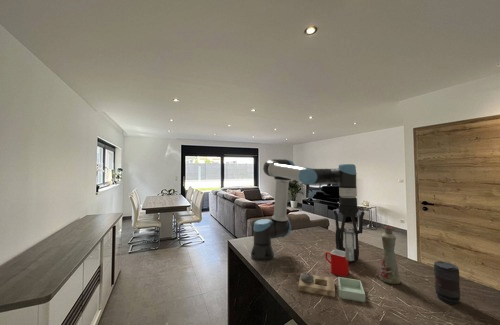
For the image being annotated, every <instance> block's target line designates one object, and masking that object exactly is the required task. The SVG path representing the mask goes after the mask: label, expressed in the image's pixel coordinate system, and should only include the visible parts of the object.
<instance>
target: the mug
mask: <svg viewBox="0 0 500 325" xmlns="http://www.w3.org/2000/svg"><path fill="white" fill-rule="evenodd" d="M328 255H330V260H329V258H328ZM325 260H326V261H327V262H328V263H329V264H330V272H331V274H333V275H336V276H338V277H342V278H346V277H347V275H348V274H349V273H350V267H349V263H350V261H348V260H346V259H345V251H341V250H337V249H333V250H332V251H330V252H328V251H327V252H325Z"/></svg>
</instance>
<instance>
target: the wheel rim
mask: <svg viewBox="0 0 500 325" xmlns="http://www.w3.org/2000/svg"><path fill="white" fill-rule="evenodd" d="M349 228H353V229H354V227H351V226H350V227H349ZM339 229H341V227H339ZM354 233H355V232H354ZM359 245H360V243H359V240H358V241H356V249H354V261H353V262H358V261H359V257H360V246H359ZM335 248H336V249H335V250H341V251H345V248H344V247H343V240H341V236H340V232H338V231H337V230H336V229H335Z"/></svg>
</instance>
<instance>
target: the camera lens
mask: <svg viewBox="0 0 500 325" xmlns="http://www.w3.org/2000/svg"><path fill="white" fill-rule="evenodd" d="M433 274H434V281H435V282H434V287H435V288H434V289H435V293H436V294H437V295H436V296H437V298H438V299H439V300H440V301H441V302H443V303H447V304H449V305H459V303H460V300H461V290H460V289H461V288H460V279H461V278H460V269H459V267H458V266H457V265H455V264H453V263H451V262H448V261H442V260H441V261H440V260H439V261H434V264H433Z"/></svg>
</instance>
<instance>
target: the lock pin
mask: <svg viewBox="0 0 500 325" xmlns="http://www.w3.org/2000/svg"><path fill="white" fill-rule="evenodd" d="M353 228H354V227H351V228H350V227H345V226H344V232H345V245H346V248H345V259H346V260H348V261H349V262H355V261H354V240H353V233H354V232H355V230H354V229H353Z"/></svg>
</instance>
